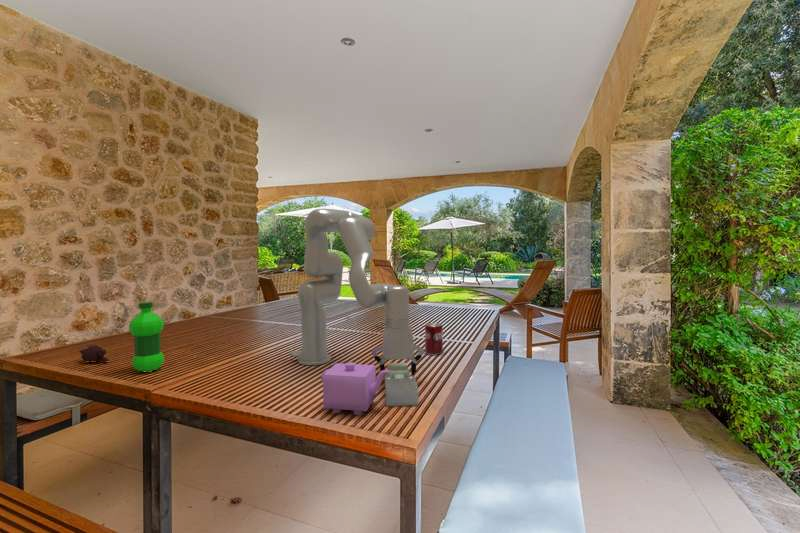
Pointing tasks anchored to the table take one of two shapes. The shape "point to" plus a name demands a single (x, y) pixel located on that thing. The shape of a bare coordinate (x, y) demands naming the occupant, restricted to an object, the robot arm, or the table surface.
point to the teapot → (350, 387)
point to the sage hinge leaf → (397, 370)
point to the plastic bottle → (147, 339)
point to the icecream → (93, 354)
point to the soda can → (433, 338)
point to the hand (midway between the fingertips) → (398, 375)
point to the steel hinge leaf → (401, 391)
